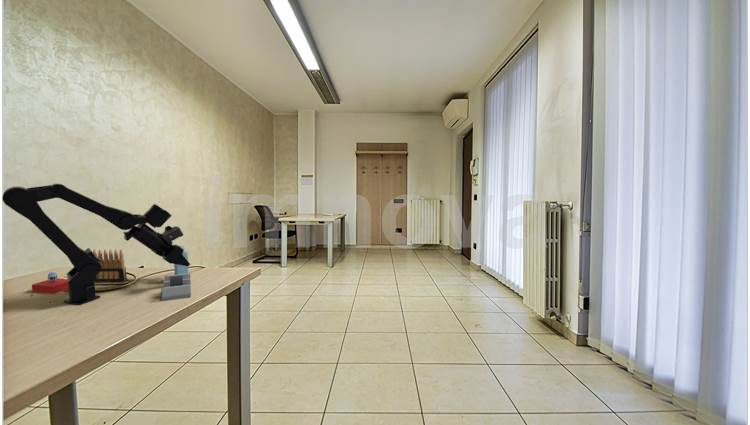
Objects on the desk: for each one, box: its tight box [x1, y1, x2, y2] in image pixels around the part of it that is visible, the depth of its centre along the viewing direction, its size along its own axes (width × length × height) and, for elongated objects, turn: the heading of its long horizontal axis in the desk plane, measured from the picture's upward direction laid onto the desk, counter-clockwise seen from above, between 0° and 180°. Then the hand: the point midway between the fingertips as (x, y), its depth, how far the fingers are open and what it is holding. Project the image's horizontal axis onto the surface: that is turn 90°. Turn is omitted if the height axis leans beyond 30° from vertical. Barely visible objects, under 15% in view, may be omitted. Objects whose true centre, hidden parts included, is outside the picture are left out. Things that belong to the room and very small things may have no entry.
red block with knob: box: [31, 271, 69, 295], centre depth 114 cm, size 8×7×6 cm
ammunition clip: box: [92, 249, 128, 283], centre depth 123 cm, size 11×2×12 cm, turn 98°
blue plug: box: [173, 245, 189, 275], centre depth 126 cm, size 4×4×13 cm
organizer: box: [161, 272, 192, 302], centre depth 116 cm, size 8×14×6 cm, turn 29°
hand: (185, 262), depth 127 cm, fingers open, 9 cm apart
